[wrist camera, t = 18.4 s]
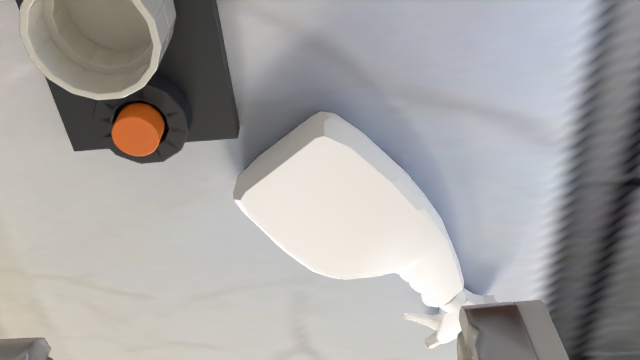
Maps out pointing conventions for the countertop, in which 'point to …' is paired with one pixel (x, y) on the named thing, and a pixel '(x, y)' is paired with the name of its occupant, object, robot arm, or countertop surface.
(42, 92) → the countertop surface
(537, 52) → the countertop surface
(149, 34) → the small bowl
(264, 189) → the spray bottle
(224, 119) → the scale
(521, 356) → the robot arm
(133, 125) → the button
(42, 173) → the countertop surface
